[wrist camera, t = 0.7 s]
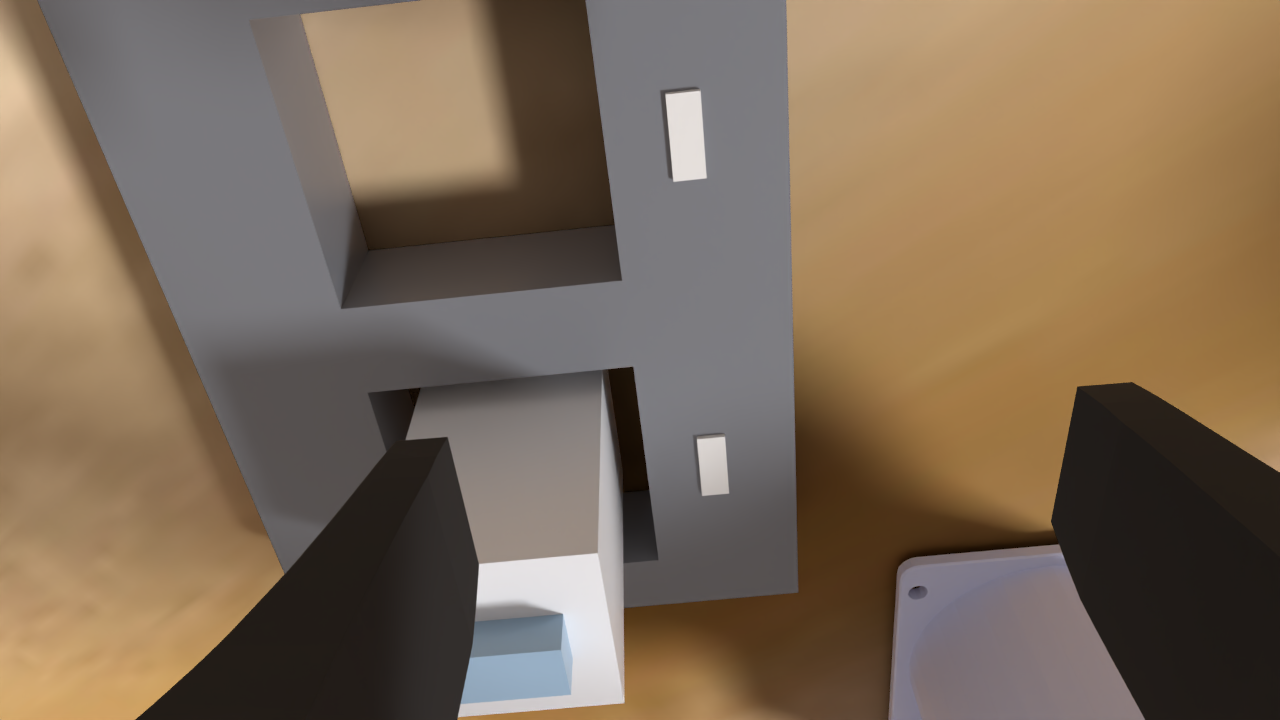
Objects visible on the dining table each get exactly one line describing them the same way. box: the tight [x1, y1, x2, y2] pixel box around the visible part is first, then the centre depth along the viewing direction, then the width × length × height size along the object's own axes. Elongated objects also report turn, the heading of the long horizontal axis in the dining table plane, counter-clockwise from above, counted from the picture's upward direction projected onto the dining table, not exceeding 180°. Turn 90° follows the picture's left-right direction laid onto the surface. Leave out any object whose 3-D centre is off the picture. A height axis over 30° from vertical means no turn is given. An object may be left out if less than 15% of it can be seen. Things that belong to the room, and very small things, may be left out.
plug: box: [406, 369, 624, 717], centre depth 20 cm, size 4×4×8 cm
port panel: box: [37, 0, 798, 608], centre depth 20 cm, size 16×12×3 cm
